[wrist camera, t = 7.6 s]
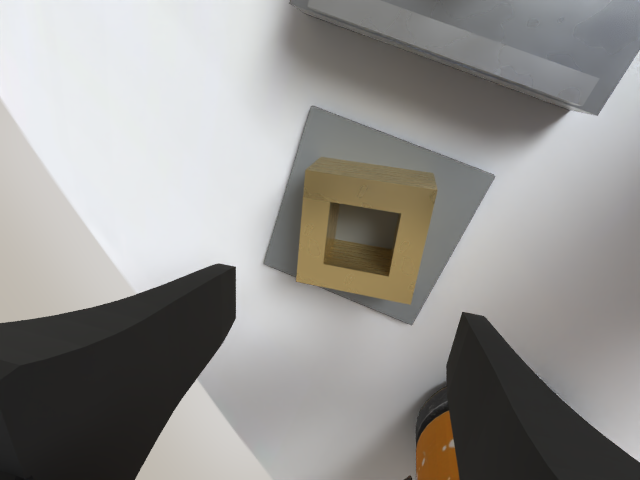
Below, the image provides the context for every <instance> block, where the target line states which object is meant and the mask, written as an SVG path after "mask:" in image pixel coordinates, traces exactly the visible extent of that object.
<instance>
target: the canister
mask: <svg viewBox="0 0 640 480" xmlns="http://www.w3.org/2000/svg"><path fill="white" fill-rule="evenodd" d="M404 480H412V478H411V475H410V476H409V477H407V478H406V479H404ZM416 480H459V472H458V466H457V459H456V453H455V446H454V440H453V433H452V427H451V420H450V413H449V407H448V400H447V387H445V388H443V389H441V390H440V391H438V392H437V393H435V394H434V395H433V396H432V397H431V398H430V399H429V400H428V401H427V402H426V403H425V404H424V406H423V407H422V408H421V410H420V412H419V415H418V417H417V422H416Z"/></svg>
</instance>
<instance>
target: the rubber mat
mask: <svg viewBox="0 0 640 480" xmlns="http://www.w3.org/2000/svg"><path fill="white" fill-rule="evenodd" d="M320 157H327V158H333V159H340V160H347V161H354V162H361V163H368V164H375V165H381V166H388V167H395V168H402V169H409V170H416V171H423V172H429V173H434V177H435V181H436V185H437V189H438V191H437V195H436V199H435V204H434V208H433V212H432V216H431V221H430V225H429V229H428V233H427V238H426V242H425V246H424V250H423V255H422V259H421V263H420V267H419V272H418V276H417V280H416V284H415V289H414V293H413V297H412V302H411V305H409V304H404V303H399V302H394V301H389V300H385V299H380V298H375V297H370V296H365V295H360V294H355V293H350V292H345V291H340V290H335V289H330V288H325V287H321V288H323V289H326V290H328V291H330V292H333V293H335V294H338V295H340V296H342V297H345V298H347V299H350V300H352V301H354V302H357V303H359V304H362V305H364V306H367V307H369V308H371V309H374V310H376V311H379V312H381V313H383V314H386V315H388V316H391V317H393V318H395V319H398V320H400V321H403V322H405V323H408V324H410V325H412V324H413V322H414V321H415V319H416V317H417V315H418V314H419V312H420V310H421V308H422V306H423V305H424V303H425V301H426V299H427V298H428V296H429V294H430V292H431V290H432V289H433V287H434V285H435V283H436V281H437V280H438V278H439V276H440V274H441V273H442V271H443V269H444V267H445V265H446V264H447V262H448V260H449V258H450V257H451V255H452V253H453V251H454V249H455V248H456V246H457V244H458V242H459V241H460V239H461V237H462V235H463V233H464V232H465V230H466V228H467V226H468V224H469V223H470V221H471V219H472V217H473V216H474V214H475V212H476V210H477V208H478V207H479V205H480V203H481V201H482V200H483V198H484V196H485V194H486V192H487V191H488V189H489V187H490V185H491V183H492V182H493V180H494V178H495V176H494V175H493V174H491V173H488V172H486V171H483V170H480V169H478V168H475V167H473V166H470V165H467V164H465V163H462V162H459V161H457V160H454V159H452V158H449V157H446V156H444V155H441V154H438V153H436V152H433V151H431V150H428V149H425V148H423V147H420V146H417V145H415V144H412V143H410V142H407V141H404V140H402V139H399V138H396V137H394V136H391V135H389V134H386V133H383V132H381V131H378V130H375V129H373V128H370V127H368V126H365V125H362V124H360V123H357V122H354V121H352V120H349V119H347V118H344V117H341V116H339V115H336V114H333V113H331V112H328V111H326V110H323V109H320V108H318V107H315V106H311V109H310V112H309V115H308V119H307V122H306V125H305V128H304V132H303V135H302V138H301V142H300V145H299V148H298V152H297V155H296V158H295V162H294V165H293V168H292V172H291V175H290V178H289V181H288V185H287V188H286V191H285V195H284V198H283V201H282V205H281V208H280V211H279V215H278V218H277V221H276V224H275V228H274V231H273V234H272V238H271V241H270V244H269V248H268V251H267V254H266V258H265V261H264V264H265V265H268V266H270V267H273V268H275V269H277V270H280V271H282V272H285V273H287V274H289V275H292V276H294V277H296V276H297V264H298V252H299V240H300V228H301V216H302V204H303V192H304V180H305V170H306V169H307V168H308V167H309V166H311V165H312V164H313V163H314V162H315V161H316V160H318V159H319V158H320ZM398 216H399V213H395V212H389V211H383V210H377V209H370V208H364V207H358V206H352V205H346V204H339V212H338V220H337V228H336V236H335V239H337V240H343V241H348V242H354V243H359V244H365V245H370V246H376V247H382V248H387V249H392V247H393V241H394V236H395V231H396V226H397V221H398ZM318 287H320V286H318Z"/></svg>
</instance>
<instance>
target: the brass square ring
mask: <svg viewBox="0 0 640 480" xmlns="http://www.w3.org/2000/svg"><path fill="white" fill-rule="evenodd" d="M437 191H438V189H437V185H436V181H435V177H434V173H429V172H423V171H416V170H409V169H402V168H395V167H388V166H381V165H375V164H368V163H361V162H354V161H347V160H340V159H333V158H327V157H320V158H319V159H318V160H316V161H315V162H314V163H313V164H312V165H311V166H309V167H308V168H307V169H306V170H305V180H304V192H303V204H302V216H301V228H300V240H299V252H298V264H297V276H296V282H301V283H306V284H311V285H316V286H320V287H325V288H330V289H335V290H340V291H345V292H350V293H355V294H360V295H365V296H370V297H375V298H380V299H385V300H389V301H394V302H399V303H404V304H409V305H411V302H412V297H413V293H414V289H415V284H416V280H417V276H418V272H419V267H420V263H421V259H422V255H423V250H424V246H425V242H426V238H427V233H428V229H429V225H430V221H431V216H432V212H433V208H434V204H435V199H436V195H437ZM339 204H346V205H352V206H358V207H364V208H370V209H377V210H383V211H389V212H395V213H399V216H398V221H397V226H396V231H395V236H394V241H393V247H392V249H387V248H382V247H376V246H370V245H365V244H359V243H354V242H348V241H343V240H337V239H335V236H336V228H337V220H338V212H339Z"/></svg>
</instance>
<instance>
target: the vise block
mask: <svg viewBox="0 0 640 480" xmlns="http://www.w3.org/2000/svg"><path fill="white" fill-rule="evenodd" d="M289 4H291V5H292V6H294V7H296V8H297V9H299V10H300V11H302V12H304V13H305V14H308V15H310V16H313V17H316V18H319V19H321V20H324V21H327V22H330V23H332V24H335V25H338V26H340V27H343V28H346V29H349V30H351V31H354V32H357V33H360V34H362V35H365V36H368V37H371V38H373V39H376V40H379V41H382V42H384V43H387V44H390V45H393V46H395V47H398V48H401V49H404V50H406V51H409V52H412V53H415V54H417V55H420V56H423V57H426V58H428V59H431V60H434V61H437V62H439V63H442V64H445V65H447V66H450V67H453V68H456V69H458V70H461V71H464V72H467V73H469V74H472V75H475V76H478V77H480V78H483V79H486V80H489V81H491V82H494V83H497V84H500V85H502V86H505V87H508V88H511V89H513V90H516V91H519V92H522V93H524V94H527V95H530V96H533V97H535V98H538V99H541V100H544V101H546V102H549V103H552V104H554V105H557V106H560V107H563V108H565V109H568V110H571V111H576V112H581V113H586V114H591V115H597V116H598V114H599V113H600V111H601V109H602V108H603V106H604V105H605V103H606V102H607V100H608V98H609V97H610V95H611V94H612V92H613V91H614V89H615V88H616V86H617V84H618V83H619V81H620V80H621V78H622V77H623V75H624V73H625V72H626V70H627V69H628V67H629V66H630V64H631V63H632V61H633V59H634V58H635V56H636V55H637V53H638V52H639V50H640V0H290V2H289Z"/></svg>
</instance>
